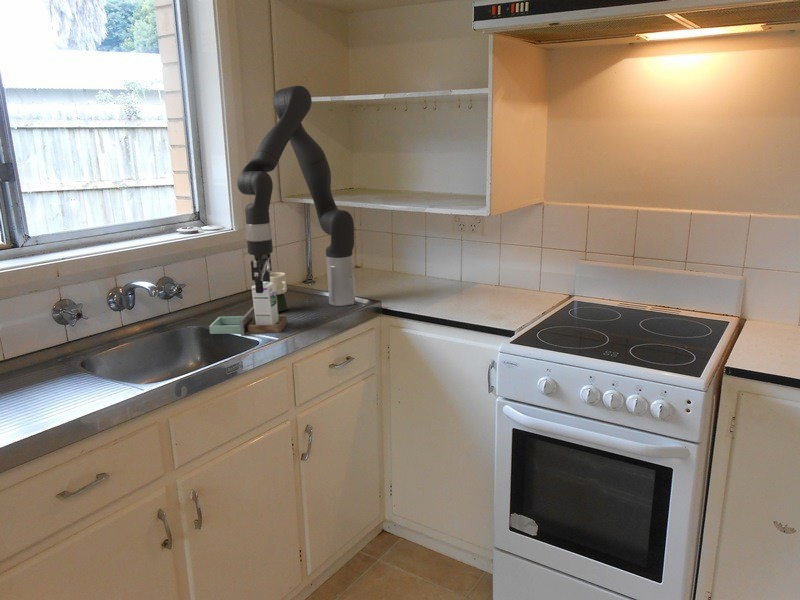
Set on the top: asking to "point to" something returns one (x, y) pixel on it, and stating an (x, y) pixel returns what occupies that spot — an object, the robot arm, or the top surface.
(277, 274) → the character mug
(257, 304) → the syrup box
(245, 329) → the door edge plate
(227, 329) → the tray
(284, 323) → the brown wooden tray
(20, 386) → the top surface
